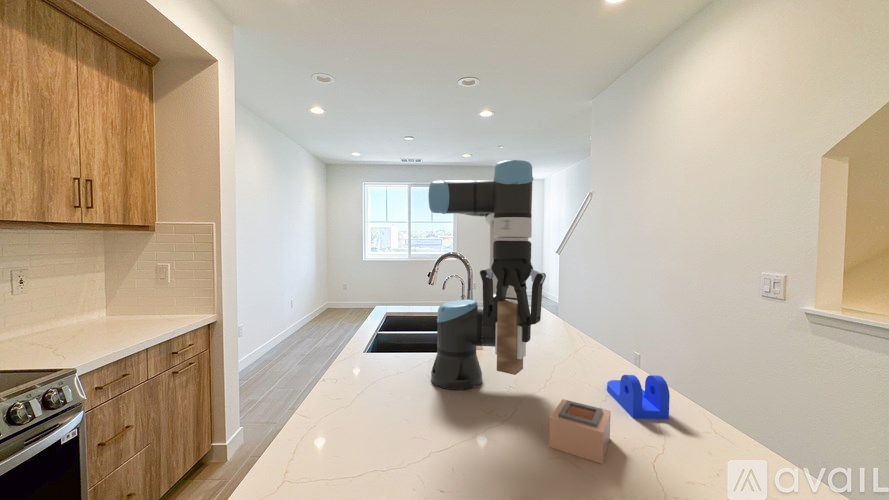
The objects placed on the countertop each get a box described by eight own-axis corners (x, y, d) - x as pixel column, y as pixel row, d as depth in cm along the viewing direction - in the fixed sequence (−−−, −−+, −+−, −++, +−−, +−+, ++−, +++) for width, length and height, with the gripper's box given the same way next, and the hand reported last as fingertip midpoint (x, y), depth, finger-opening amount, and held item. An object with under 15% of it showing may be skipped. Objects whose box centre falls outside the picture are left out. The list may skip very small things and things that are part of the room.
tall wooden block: (496, 370, 72) (497, 301, 71) (504, 364, 75) (505, 298, 74) (515, 375, 69) (516, 303, 69) (523, 368, 73) (524, 300, 72)
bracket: (668, 420, 84) (670, 382, 83) (632, 419, 84) (633, 381, 84) (631, 387, 102) (632, 356, 101) (602, 386, 102) (602, 355, 102)
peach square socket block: (549, 446, 72) (549, 414, 72) (561, 424, 81) (562, 396, 81) (602, 463, 67) (603, 429, 67) (609, 438, 75) (610, 408, 75)
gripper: (465, 239, 73) (464, 351, 74) (548, 240, 63) (545, 369, 64) (483, 239, 79) (481, 343, 80) (560, 240, 70) (558, 358, 70)
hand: (510, 354), depth 72 cm, fingers closed on tall wooden block, 4 cm apart
